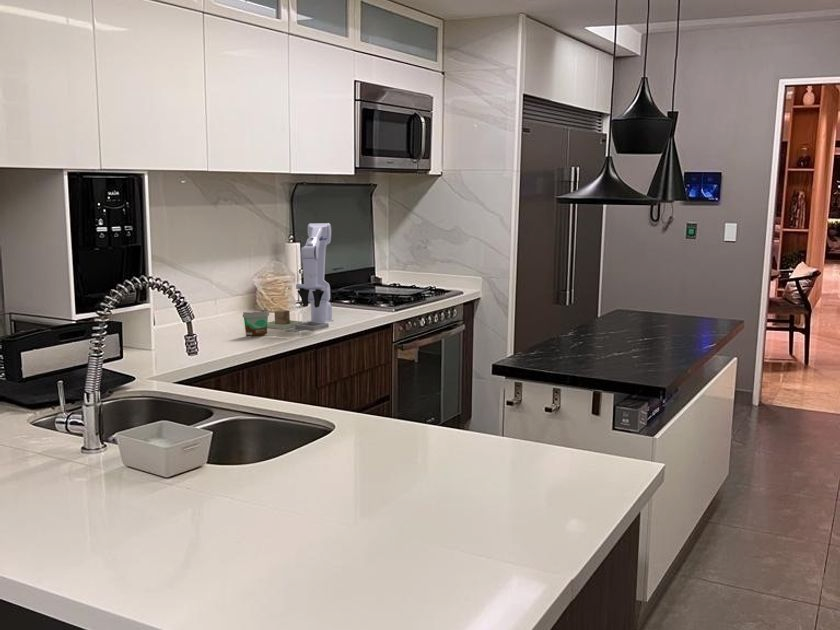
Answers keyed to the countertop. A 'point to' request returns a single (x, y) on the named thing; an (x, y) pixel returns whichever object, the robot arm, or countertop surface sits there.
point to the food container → (256, 323)
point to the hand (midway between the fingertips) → (311, 306)
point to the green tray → (292, 324)
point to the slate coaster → (294, 330)
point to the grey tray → (312, 326)
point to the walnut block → (282, 317)
